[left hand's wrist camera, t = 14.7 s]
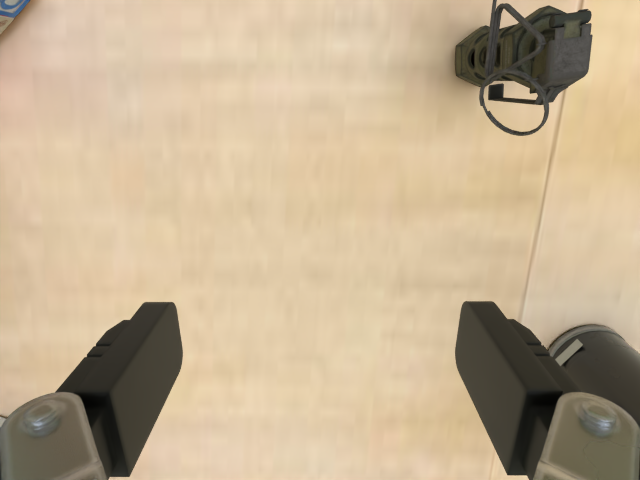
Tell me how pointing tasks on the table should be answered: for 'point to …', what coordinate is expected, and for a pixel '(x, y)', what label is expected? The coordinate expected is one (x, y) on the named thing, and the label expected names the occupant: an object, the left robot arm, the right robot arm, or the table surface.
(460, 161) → the table surface
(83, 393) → the left robot arm
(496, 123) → the grenade
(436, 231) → the table surface
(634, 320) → the table surface
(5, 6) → the stack of blocks
